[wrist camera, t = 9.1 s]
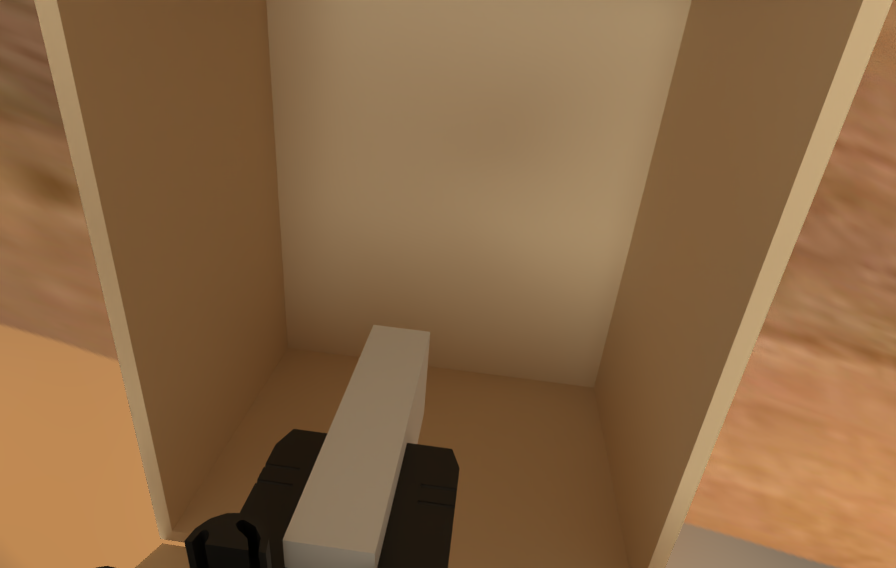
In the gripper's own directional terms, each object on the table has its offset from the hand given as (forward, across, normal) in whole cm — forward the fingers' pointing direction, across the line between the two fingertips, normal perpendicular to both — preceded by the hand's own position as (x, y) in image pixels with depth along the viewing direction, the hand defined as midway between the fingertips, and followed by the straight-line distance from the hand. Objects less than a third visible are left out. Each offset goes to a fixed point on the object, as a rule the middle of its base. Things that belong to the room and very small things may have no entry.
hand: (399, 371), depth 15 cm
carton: (+16, 0, 0) cm, 16 cm away
